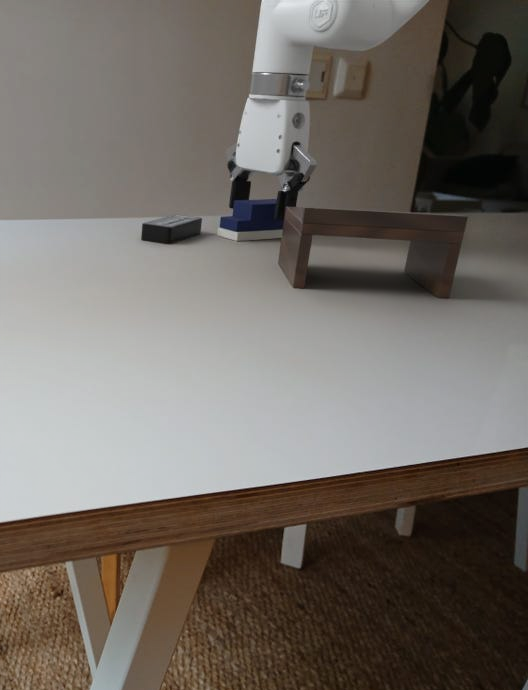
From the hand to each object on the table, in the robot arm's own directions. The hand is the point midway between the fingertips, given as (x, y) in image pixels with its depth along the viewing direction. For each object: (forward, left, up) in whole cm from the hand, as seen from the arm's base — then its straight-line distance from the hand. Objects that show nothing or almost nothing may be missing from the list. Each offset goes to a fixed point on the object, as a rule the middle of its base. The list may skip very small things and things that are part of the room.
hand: (260, 213), depth 107 cm
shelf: (-8, +25, -3) cm, 26 cm away
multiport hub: (+12, +5, -3) cm, 14 cm away
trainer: (+1, +1, -3) cm, 3 cm away
